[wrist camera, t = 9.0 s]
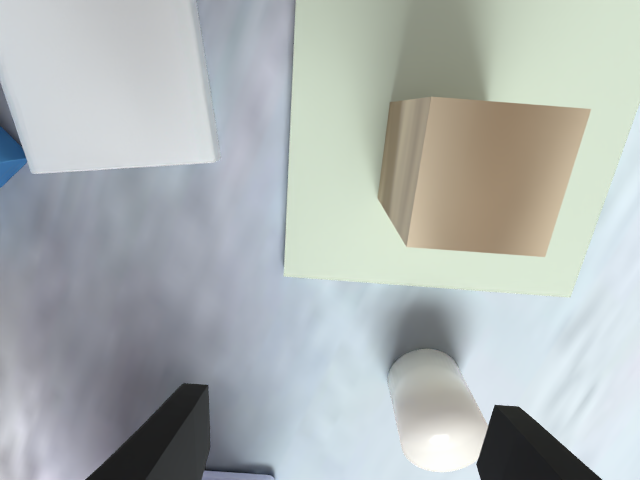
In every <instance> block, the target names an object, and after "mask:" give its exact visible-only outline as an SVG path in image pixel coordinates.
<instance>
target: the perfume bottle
mask: <svg viewBox="0 0 640 480" xmlns="http://www.w3.org/2000/svg"><path fill="white" fill-rule="evenodd" d="M26 163H27V159H26V156H25V153H24V150H23V148H22V147H21V146H20V145H19V144H18V143H17V142H16V141H15V140H14V139H13V138H12V137H11V136H10V135H9V134H8V133H7V132H6V131H5V130H4V129H3V128H2V127H1V126H0V188H1V187H2V186H3V185H4V184H5V183H6V182H7V181H8V180H9V179H10V178H11V177H12V176H13V175H14V174H15V173H16V172H18V171H19V170H20V169H21V168H22V167H23V166H24V165H25V164H26Z"/></svg>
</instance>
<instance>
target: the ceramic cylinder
mask: <svg viewBox="0 0 640 480" xmlns="http://www.w3.org/2000/svg"><path fill="white" fill-rule="evenodd" d="M387 381H388V387H389V392H390V397H391V401H392V406H393V410H394V415H395V420H396V424H397V429H398V433H399V438H400V443H401V447H402V450H403V453H404V455H405V456H406V458H407V459H408V460H409V461H410V462H411V463H413V464H414V465H416V466H417V467H419V468H422V469H425V470H428V471H433V472H450V471H455V470H459V469H462V468H465V467H467V466H469V465H471V464H472V463H474V462H476V461H477V460H478V458H479V455H480V451H481V448H482V445H483V442H484V438H485V435H486V432H487V429H488V425H487V423H486V421H485V419H484V417H483V415H482V413H481V411H480V409H479V407H478V405H477V403H476V401H475V399H474V397H473V395H472V393H471V391H470V389H469V387H468V385H467V383H466V382H465V380H464V378H463V376H462V374H461V372H460V370H459V368H458V366H457V364H456V362H455V361H454V360H453V359H452V358H451V357H450V356H449V355H447V354H446V353H444V352H442V351H439V350H435V349H418V350H414V351H411V352H408V353H406V354H404V355H403V356H401V357H400V358H399V359H397V360H396V361H395V362H394V364H393V365H392V366H391V368H390V370H389V373H388V380H387Z"/></svg>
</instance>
